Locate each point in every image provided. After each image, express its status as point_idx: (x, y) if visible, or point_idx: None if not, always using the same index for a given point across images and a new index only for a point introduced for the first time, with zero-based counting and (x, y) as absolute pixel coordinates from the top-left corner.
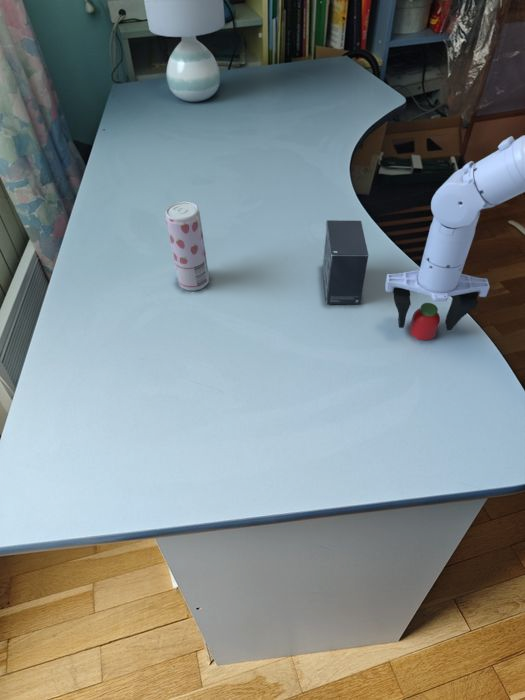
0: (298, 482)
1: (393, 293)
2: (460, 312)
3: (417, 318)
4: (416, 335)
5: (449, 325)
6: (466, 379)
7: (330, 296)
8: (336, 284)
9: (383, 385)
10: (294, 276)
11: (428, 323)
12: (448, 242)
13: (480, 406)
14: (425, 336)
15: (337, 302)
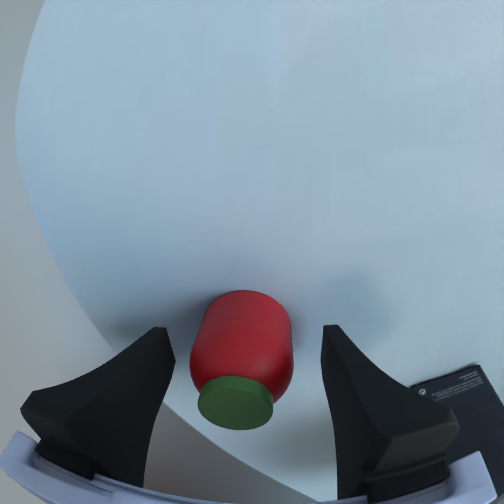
0: None
1: (442, 456)
2: (94, 386)
3: (280, 364)
4: (271, 304)
5: (153, 342)
6: (107, 133)
7: (483, 382)
8: (491, 413)
9: (390, 61)
10: None
11: (233, 344)
12: None
13: (86, 47)
14: (239, 300)
15: (462, 374)
